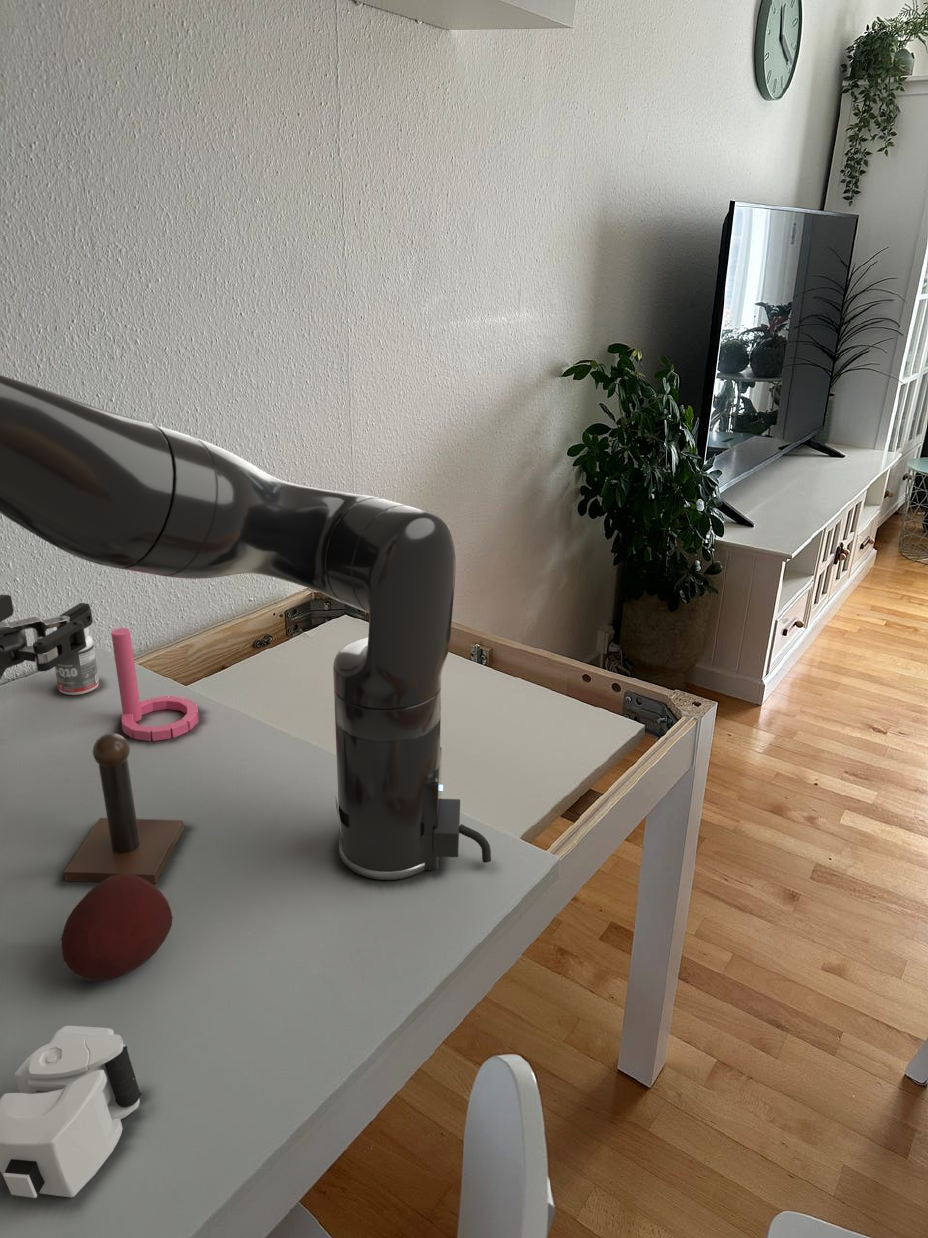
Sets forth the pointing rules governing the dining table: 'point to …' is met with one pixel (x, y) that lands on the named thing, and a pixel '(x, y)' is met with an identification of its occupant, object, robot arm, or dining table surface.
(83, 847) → the stand
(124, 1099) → the white plastic gadget
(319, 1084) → the dining table surface
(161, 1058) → the dining table surface
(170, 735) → the pink ring with post
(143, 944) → the potato
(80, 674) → the pill bottle
